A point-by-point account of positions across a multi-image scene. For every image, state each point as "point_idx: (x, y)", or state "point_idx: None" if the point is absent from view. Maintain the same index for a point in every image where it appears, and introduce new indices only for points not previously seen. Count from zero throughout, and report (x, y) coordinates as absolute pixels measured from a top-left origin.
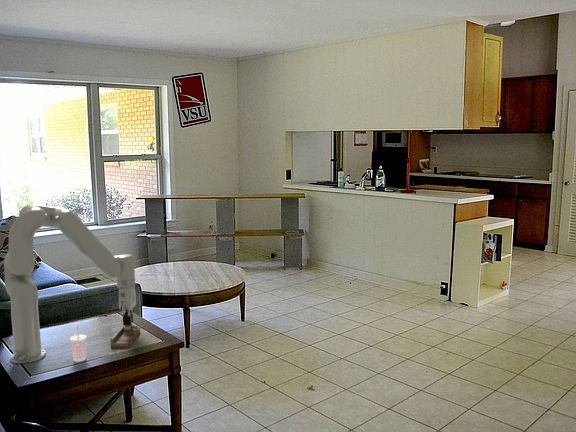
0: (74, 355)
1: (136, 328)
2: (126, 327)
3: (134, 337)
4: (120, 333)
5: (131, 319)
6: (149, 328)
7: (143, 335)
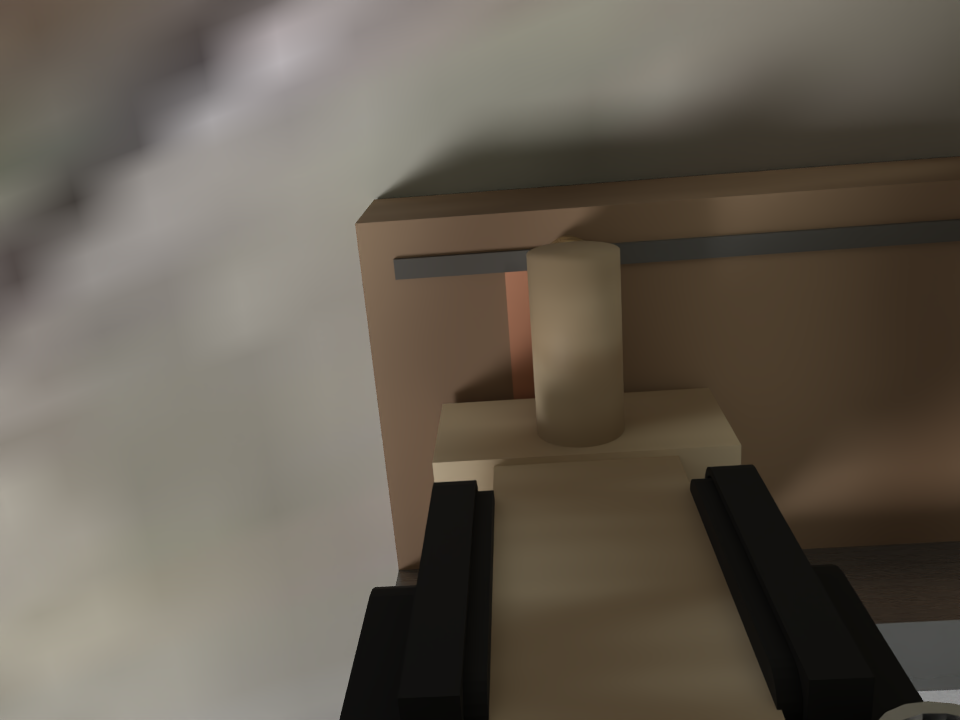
0: None
1: (601, 250)
2: None
3: (908, 167)
4: (952, 565)
5: (498, 563)
6: (57, 27)
7: (610, 7)
